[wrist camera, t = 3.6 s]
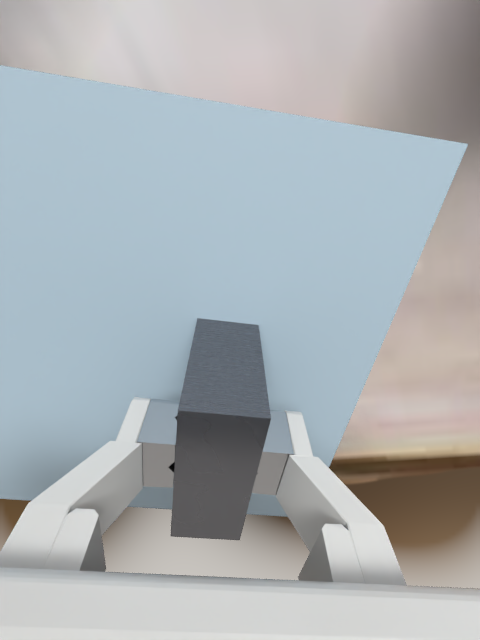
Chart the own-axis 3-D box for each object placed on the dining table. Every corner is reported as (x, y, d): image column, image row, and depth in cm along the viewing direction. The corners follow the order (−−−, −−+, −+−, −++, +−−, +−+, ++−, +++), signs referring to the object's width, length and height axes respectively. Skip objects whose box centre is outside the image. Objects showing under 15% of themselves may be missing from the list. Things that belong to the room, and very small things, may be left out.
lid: (-75, 476, 15) (-194, 605, 11) (-334, 12, 7) (-1176, -180, 3) (304, 502, 17) (327, 623, 12) (448, 143, 8) (657, 144, 4)
